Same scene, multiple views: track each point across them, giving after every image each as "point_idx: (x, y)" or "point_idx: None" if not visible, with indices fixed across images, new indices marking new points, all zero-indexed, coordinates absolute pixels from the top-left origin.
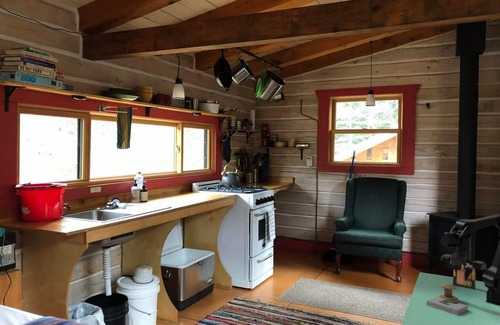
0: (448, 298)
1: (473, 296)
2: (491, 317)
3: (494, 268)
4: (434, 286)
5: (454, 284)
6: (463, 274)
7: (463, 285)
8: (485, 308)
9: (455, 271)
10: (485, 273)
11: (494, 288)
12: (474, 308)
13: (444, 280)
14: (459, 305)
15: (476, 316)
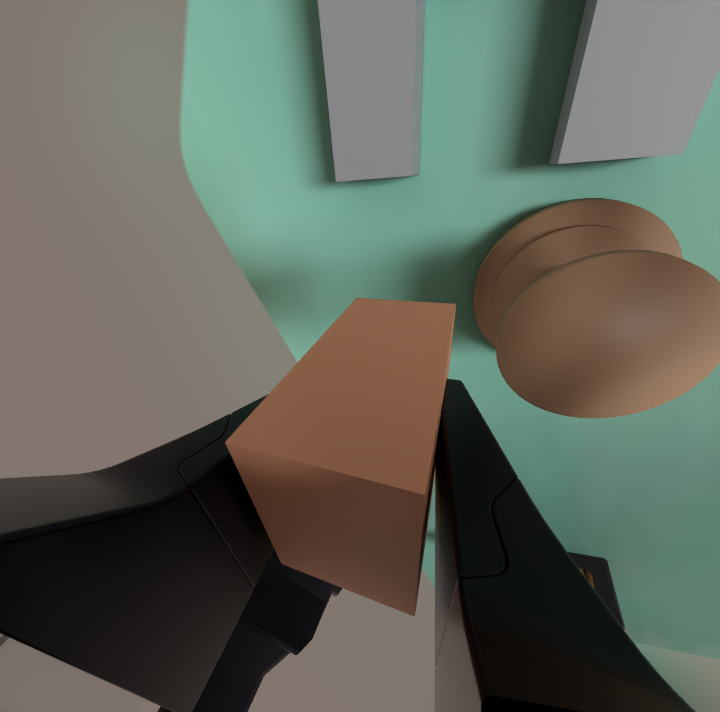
0: (546, 246)
1: None
2: (215, 196)
3: (224, 650)
4: None
5: (595, 563)
6: (274, 390)
7: None
8: (317, 323)
9: (514, 488)
10: (308, 596)
11: None
12: (345, 267)
13: (677, 606)
14: (376, 101)
15: (248, 101)
